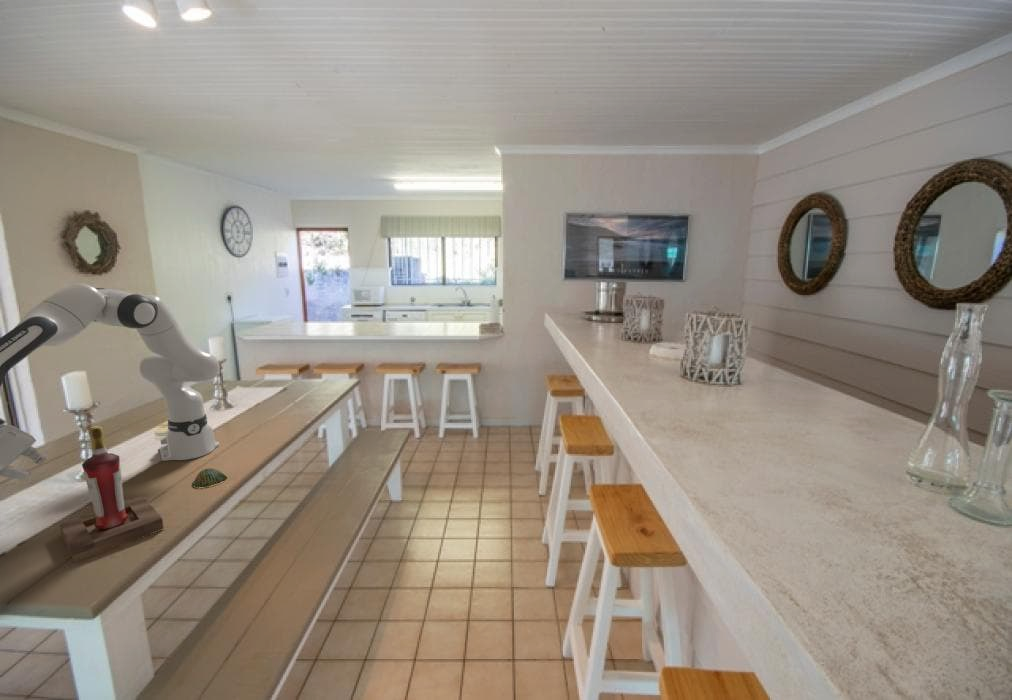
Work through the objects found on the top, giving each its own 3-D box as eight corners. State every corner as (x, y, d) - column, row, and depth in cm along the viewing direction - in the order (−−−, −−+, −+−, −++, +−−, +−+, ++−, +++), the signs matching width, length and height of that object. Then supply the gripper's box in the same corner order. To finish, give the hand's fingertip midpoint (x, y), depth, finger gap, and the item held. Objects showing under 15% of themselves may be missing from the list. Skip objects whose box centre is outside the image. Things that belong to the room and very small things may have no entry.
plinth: (61, 534, 120) (59, 522, 119) (145, 506, 134) (143, 496, 133) (74, 563, 109) (71, 550, 108) (163, 529, 123) (161, 518, 122)
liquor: (92, 525, 121) (74, 427, 115) (127, 514, 126) (111, 420, 121) (96, 536, 116) (77, 435, 110) (132, 524, 121) (116, 427, 116)
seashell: (195, 480, 142) (187, 470, 149) (195, 492, 143) (187, 481, 149) (230, 472, 149) (221, 462, 156) (231, 483, 150) (222, 474, 157)
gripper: (-44, 445, 97) (27, 477, 103) (3, 415, 114) (61, 444, 121) (-70, 468, 95) (5, 499, 102) (-18, 434, 113) (42, 462, 120)
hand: (36, 469), depth 112 cm, fingers open, 8 cm apart
